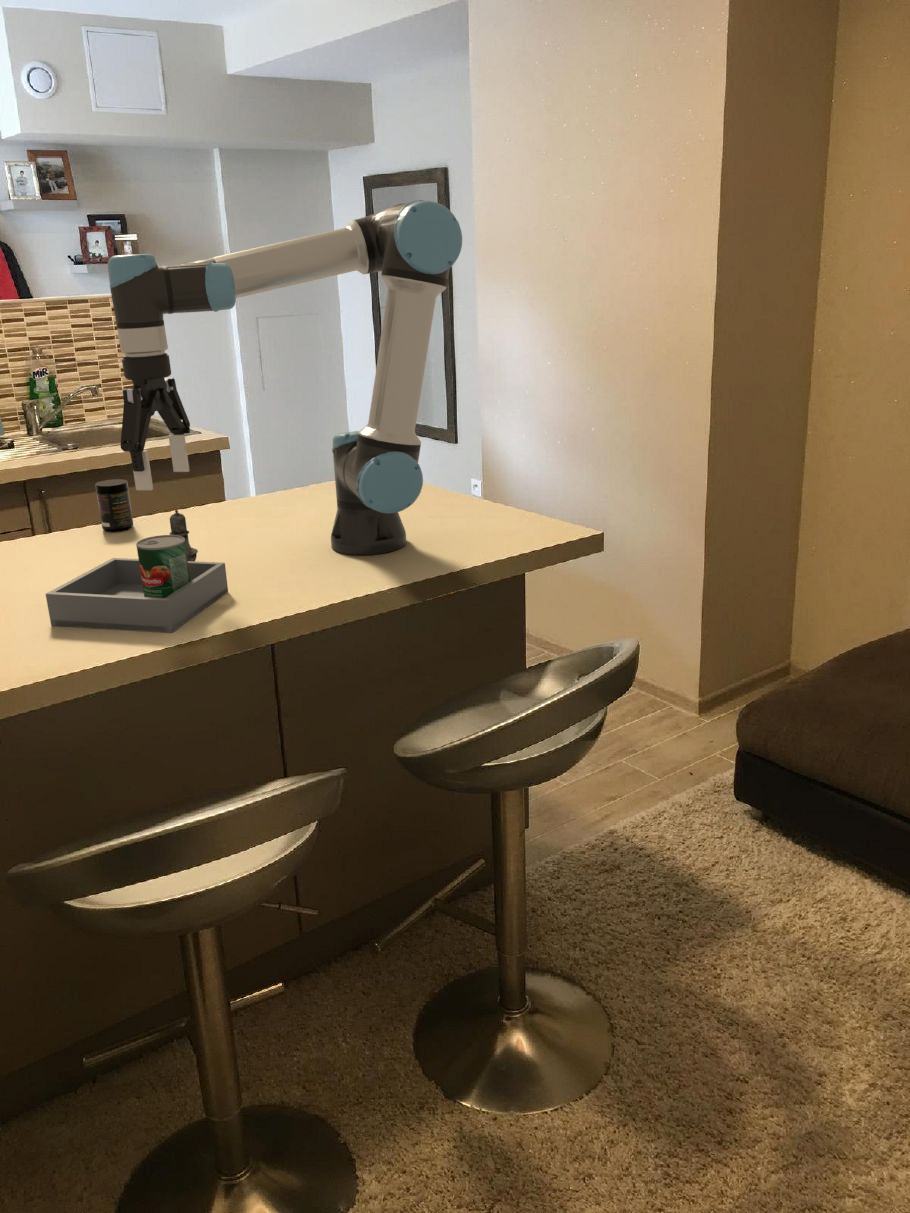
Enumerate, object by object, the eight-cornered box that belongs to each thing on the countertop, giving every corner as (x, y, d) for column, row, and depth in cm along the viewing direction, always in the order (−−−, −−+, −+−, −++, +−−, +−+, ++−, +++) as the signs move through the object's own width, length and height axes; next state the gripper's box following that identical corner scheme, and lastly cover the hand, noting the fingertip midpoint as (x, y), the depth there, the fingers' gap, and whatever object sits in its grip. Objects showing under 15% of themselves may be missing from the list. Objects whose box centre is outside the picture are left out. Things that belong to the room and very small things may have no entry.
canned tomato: (199, 595, 175) (191, 534, 171) (184, 611, 167) (176, 547, 163) (154, 596, 175) (145, 535, 171) (138, 612, 168) (128, 548, 164)
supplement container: (140, 526, 225) (134, 480, 221) (119, 534, 219) (111, 487, 216) (117, 523, 228) (110, 478, 224) (95, 531, 222) (88, 485, 218)
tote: (228, 592, 179) (224, 562, 177) (172, 633, 161) (167, 600, 159) (117, 586, 184) (113, 557, 182) (51, 625, 166) (45, 593, 164)
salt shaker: (191, 575, 189) (183, 513, 185) (162, 574, 190) (154, 512, 186) (205, 566, 195) (197, 505, 191) (176, 565, 196) (168, 504, 192)
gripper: (159, 345, 178) (176, 464, 186) (83, 363, 156) (106, 498, 163) (198, 344, 177) (214, 464, 184) (128, 362, 154) (149, 498, 161)
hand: (163, 480), depth 174 cm, fingers open, 13 cm apart
